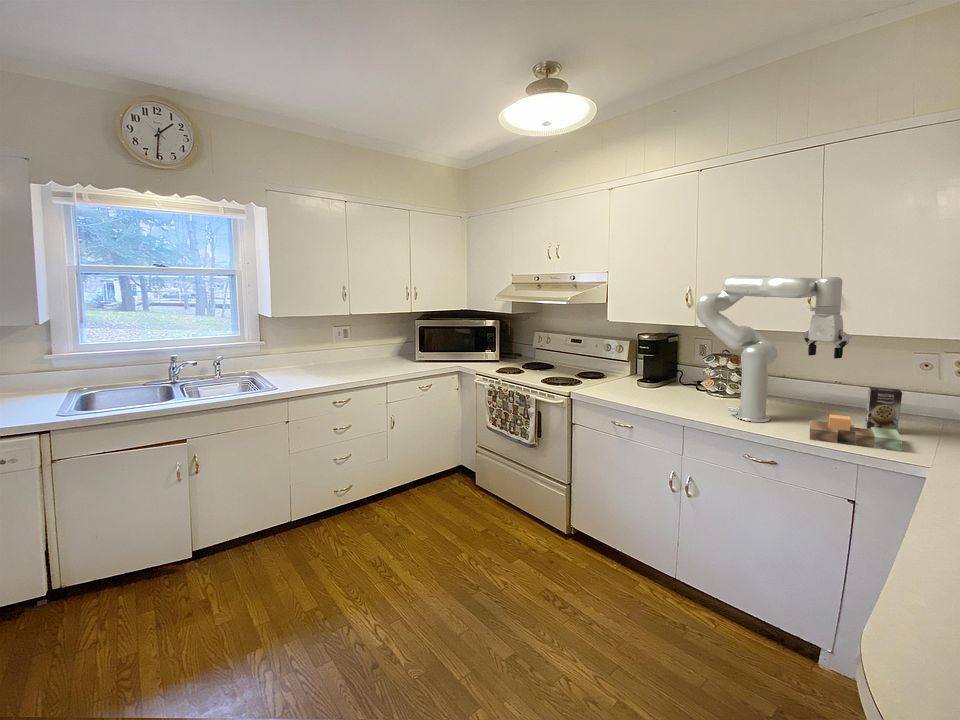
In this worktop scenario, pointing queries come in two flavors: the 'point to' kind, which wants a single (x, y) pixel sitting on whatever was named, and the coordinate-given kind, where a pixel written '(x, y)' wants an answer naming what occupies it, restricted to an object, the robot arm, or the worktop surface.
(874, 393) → the coffee box
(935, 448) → the worktop surface
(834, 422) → the orange block
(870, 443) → the board
